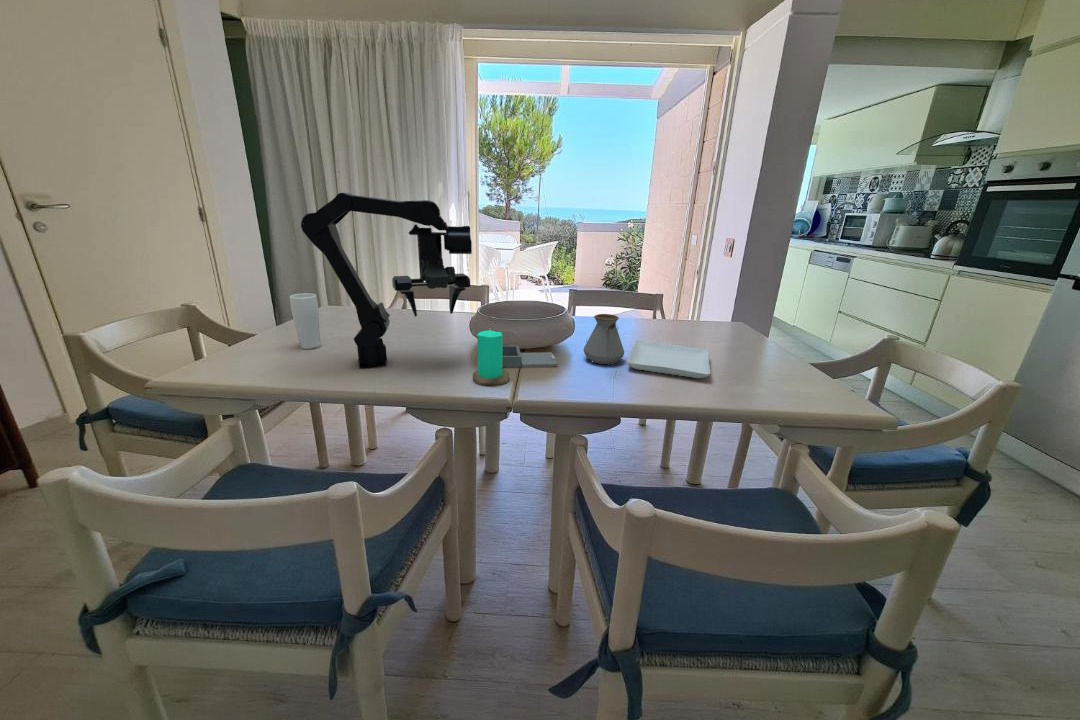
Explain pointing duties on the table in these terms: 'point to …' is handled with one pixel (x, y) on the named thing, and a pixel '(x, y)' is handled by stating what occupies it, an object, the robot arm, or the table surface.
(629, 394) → the table surface
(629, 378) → the table surface
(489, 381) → the coaster
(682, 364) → the salad plate
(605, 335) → the coffee pot
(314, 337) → the drinking glass
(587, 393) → the table surface
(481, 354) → the candle
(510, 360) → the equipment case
